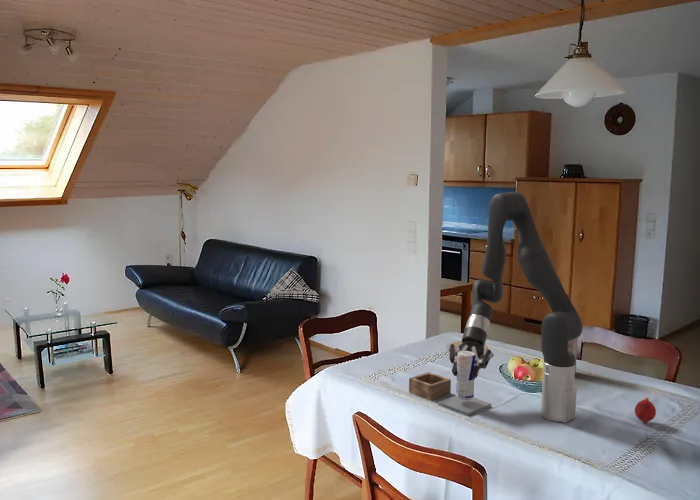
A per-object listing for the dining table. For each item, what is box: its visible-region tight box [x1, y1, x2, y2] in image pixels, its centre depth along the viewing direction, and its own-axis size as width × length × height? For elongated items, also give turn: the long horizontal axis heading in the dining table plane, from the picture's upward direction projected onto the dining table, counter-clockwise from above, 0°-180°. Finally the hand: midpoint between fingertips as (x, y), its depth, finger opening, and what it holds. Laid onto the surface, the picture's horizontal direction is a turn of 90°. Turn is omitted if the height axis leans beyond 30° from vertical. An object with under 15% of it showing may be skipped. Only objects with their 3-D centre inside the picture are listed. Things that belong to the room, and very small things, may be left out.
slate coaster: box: [438, 395, 492, 417], centre depth 197 cm, size 12×12×1 cm
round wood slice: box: [448, 340, 489, 359], centre depth 255 cm, size 16×16×3 cm
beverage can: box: [455, 351, 475, 400], centre depth 196 cm, size 6×6×15 cm
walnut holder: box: [408, 372, 452, 401], centre depth 208 cm, size 10×10×5 cm
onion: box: [634, 396, 657, 424], centre depth 184 cm, size 6×6×8 cm
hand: (463, 376), depth 194 cm, fingers closed on beverage can, 5 cm apart
